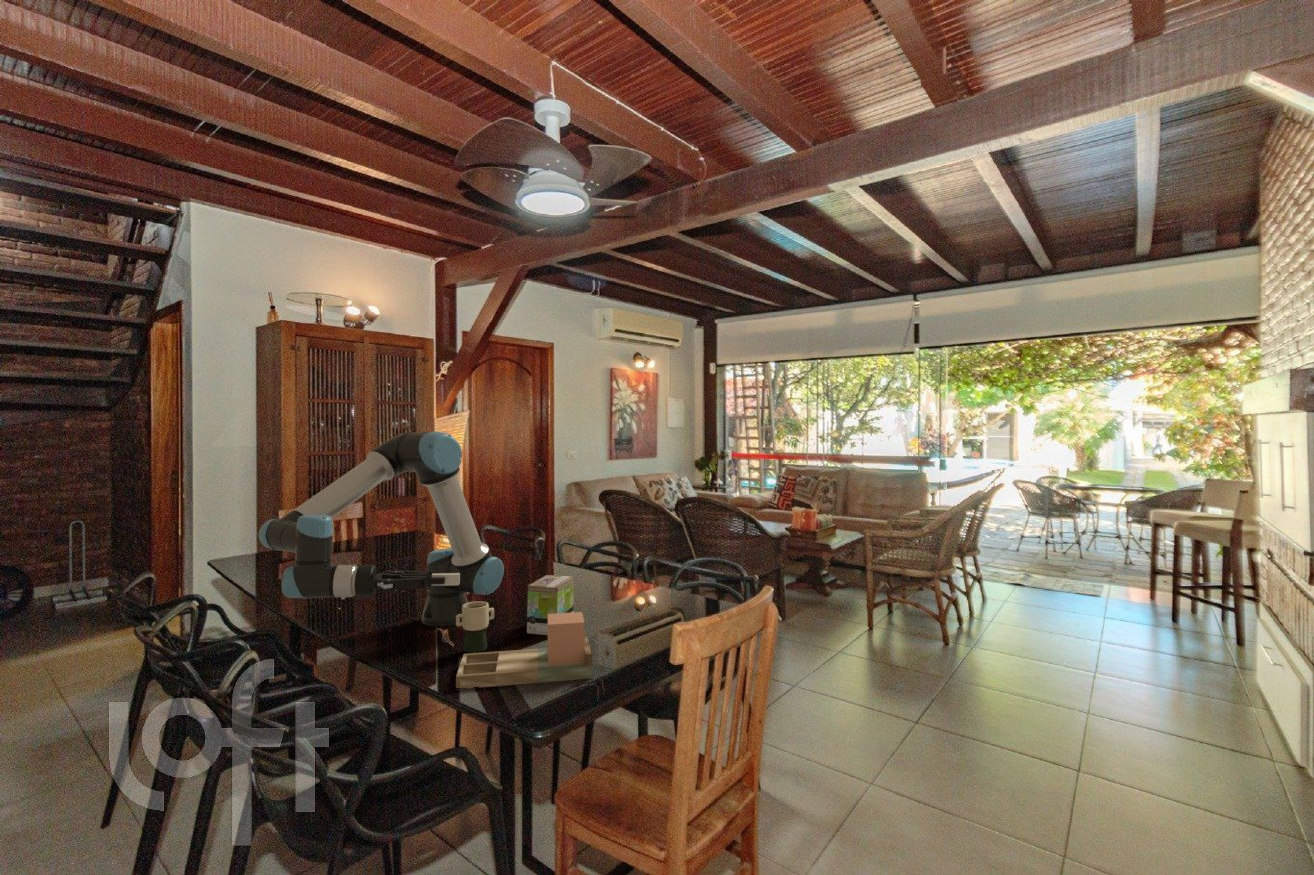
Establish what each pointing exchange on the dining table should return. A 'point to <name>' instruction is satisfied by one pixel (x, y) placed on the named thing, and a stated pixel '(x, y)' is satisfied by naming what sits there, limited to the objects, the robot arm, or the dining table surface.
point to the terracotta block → (566, 638)
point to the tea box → (548, 601)
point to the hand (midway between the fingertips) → (459, 579)
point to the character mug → (475, 625)
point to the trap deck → (518, 668)
